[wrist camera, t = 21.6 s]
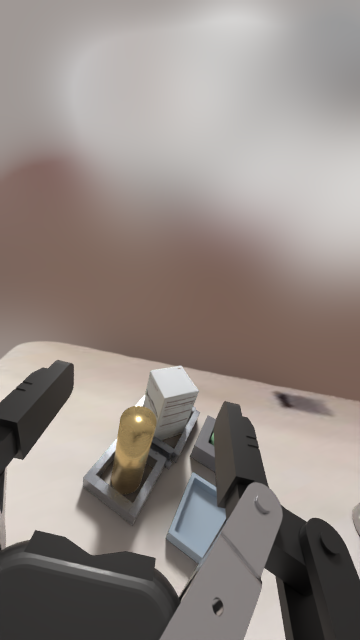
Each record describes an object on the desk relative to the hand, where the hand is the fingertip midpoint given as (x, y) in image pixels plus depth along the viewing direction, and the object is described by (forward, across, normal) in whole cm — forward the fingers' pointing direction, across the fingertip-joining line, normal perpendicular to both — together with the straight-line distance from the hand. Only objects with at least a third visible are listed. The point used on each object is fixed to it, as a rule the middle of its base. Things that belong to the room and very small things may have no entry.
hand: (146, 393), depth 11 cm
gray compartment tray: (+18, -1, +32) cm, 37 cm away
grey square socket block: (+20, -14, +32) cm, 40 cm away
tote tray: (+8, -12, +32) cm, 35 cm away
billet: (+12, +1, +32) cm, 34 cm away
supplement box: (+23, -3, +32) cm, 40 cm away
